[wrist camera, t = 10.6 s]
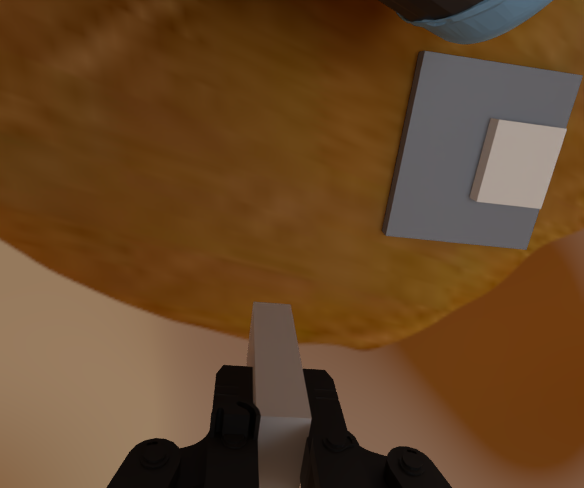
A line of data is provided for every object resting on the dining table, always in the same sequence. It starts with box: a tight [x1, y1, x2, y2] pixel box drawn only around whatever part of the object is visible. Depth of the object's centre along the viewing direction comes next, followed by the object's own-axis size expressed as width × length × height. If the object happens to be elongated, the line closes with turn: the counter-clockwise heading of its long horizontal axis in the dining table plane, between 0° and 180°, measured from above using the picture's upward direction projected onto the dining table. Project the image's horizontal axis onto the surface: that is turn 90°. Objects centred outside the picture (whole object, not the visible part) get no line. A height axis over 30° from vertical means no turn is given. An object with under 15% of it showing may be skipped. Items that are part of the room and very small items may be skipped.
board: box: [382, 51, 582, 250], centre depth 47 cm, size 18×16×2 cm
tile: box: [469, 118, 567, 209], centre depth 45 cm, size 8×2×7 cm
